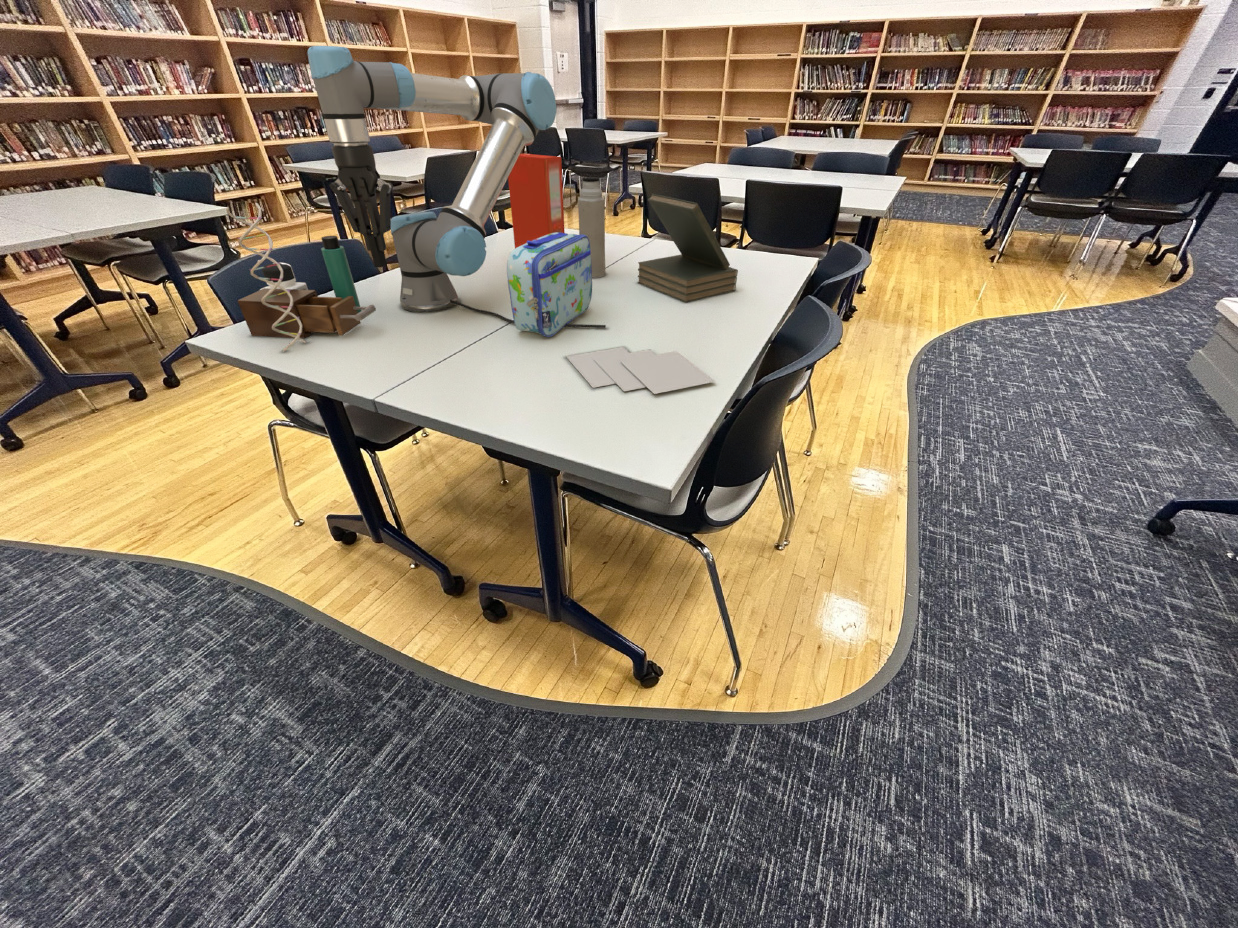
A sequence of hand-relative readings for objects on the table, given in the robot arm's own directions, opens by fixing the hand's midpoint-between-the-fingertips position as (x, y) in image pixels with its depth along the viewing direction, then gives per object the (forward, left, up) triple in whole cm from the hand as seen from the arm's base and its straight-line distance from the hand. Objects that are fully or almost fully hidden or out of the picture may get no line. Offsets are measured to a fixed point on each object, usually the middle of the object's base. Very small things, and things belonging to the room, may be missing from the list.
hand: (380, 265), depth 119 cm
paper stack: (-60, +14, -16) cm, 63 cm away
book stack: (-70, -47, -16) cm, 86 cm away
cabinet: (+28, 0, -16) cm, 32 cm away
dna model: (+20, +10, -17) cm, 28 cm away
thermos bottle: (-40, -57, -16) cm, 72 cm away
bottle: (+19, -14, -16) cm, 29 cm away
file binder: (-19, -73, -17) cm, 77 cm away
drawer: (+15, 0, -15) cm, 22 cm away
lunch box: (-37, -12, -17) cm, 42 cm away
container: (+33, -10, -17) cm, 39 cm away
